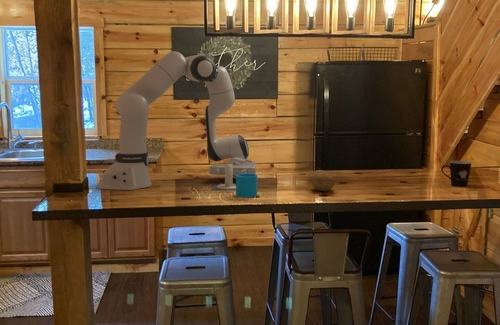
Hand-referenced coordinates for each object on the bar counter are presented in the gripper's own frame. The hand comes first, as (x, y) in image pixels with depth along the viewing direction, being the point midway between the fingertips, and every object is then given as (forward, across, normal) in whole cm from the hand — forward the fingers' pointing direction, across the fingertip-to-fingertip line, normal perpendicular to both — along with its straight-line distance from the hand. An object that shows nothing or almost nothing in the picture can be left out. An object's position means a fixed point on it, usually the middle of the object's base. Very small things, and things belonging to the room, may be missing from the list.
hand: (229, 173), depth 221 cm
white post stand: (+3, 0, +6) cm, 6 cm away
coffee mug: (-18, +95, +6) cm, 97 cm away
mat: (+3, 0, +6) cm, 7 cm away
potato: (+3, +39, +6) cm, 39 cm away
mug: (+15, +9, +6) cm, 18 cm away
